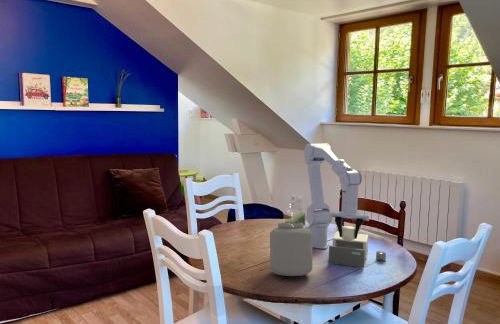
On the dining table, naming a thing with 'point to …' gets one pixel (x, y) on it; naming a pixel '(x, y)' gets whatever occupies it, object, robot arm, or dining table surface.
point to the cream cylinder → (348, 232)
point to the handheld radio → (297, 219)
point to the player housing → (352, 242)
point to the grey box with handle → (346, 256)
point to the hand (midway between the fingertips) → (348, 237)
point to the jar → (291, 249)
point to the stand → (380, 256)
